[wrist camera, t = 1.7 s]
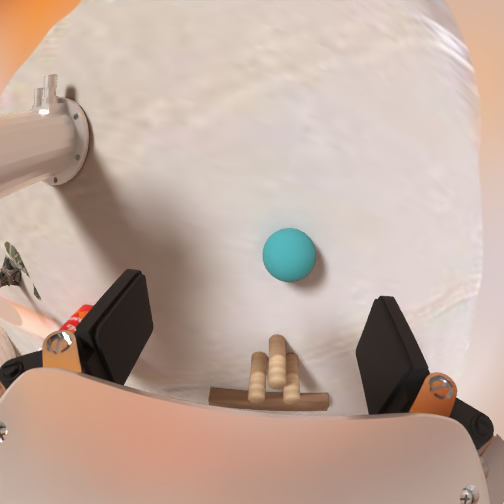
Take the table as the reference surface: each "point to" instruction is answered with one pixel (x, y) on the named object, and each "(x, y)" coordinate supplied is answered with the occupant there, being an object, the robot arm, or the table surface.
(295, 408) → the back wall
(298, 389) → the pin
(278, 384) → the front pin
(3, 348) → the plate stack
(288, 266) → the ball
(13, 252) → the eiffel tower figurine
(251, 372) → the pin
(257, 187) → the table surface
